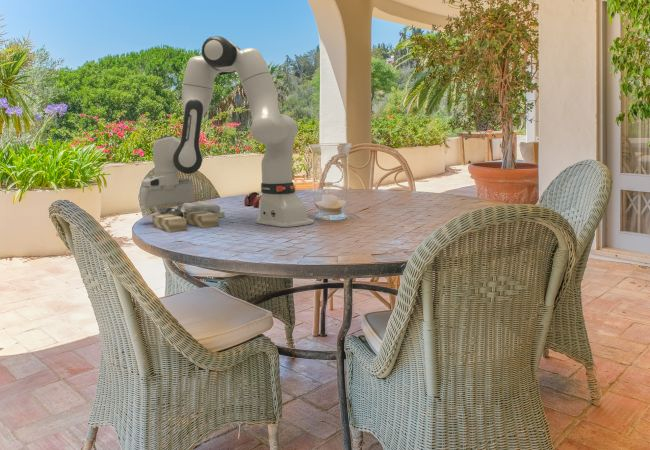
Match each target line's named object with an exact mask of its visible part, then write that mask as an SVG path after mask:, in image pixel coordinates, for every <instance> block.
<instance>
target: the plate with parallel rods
mask: <svg viewBox="0 0 650 450" xmlns="http://www.w3.org/2000/svg"><path fill="white" fill-rule="evenodd" d="M182 209H183V210H182ZM182 209H181V210H180V211H182V213H183V216H184V212H186V211H195V210H201V211H205V212H209V213H213V214H217V215H218V219H221V218H225V211H221V207H220V206H219V204H213V203H210V202H205V201H201V200H198V201H197V202H195V204H194V203H192V202H189V203H182Z"/></svg>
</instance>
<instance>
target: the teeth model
mask: <svg viewBox="0 0 650 450" xmlns="http://www.w3.org/2000/svg"><path fill="white" fill-rule="evenodd" d="M261 197H262V193H258V192H255V191H252V192H249V194H247V195H246V196H245V198H244V203H243V204H244V207H249V206H252V207H253V208H254V209H257V208H258V209H259V200H260V198H261Z"/></svg>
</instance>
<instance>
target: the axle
mask: <svg viewBox="0 0 650 450" xmlns="http://www.w3.org/2000/svg"><path fill="white" fill-rule="evenodd" d="M159 210H160V211H161V212H163V213H164V214H168V213H169V214H172V215H176V216H179V217H182V218H184V217H183V213H182V211H180V210H178V209H177V208H173V207H170V206H167V205H162V206H160V208H159Z"/></svg>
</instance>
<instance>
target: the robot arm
mask: <svg viewBox="0 0 650 450" xmlns="http://www.w3.org/2000/svg"><path fill="white" fill-rule="evenodd" d="M234 73H237V75H238V78H239V80H240V82H241V85H242V87H243V91H244V93H245V96H246V99H247V101H248V105H249V109H250V110H249V111H250V115H251V117H250V118H251V125H250V133H251V136H252V138H253V139H254V140H255V141H256V142H258V143H260V144H263V145H265V150H264V155H263V157H262V159H261V164H260V165H261V184H260V193H261V194H262V197H261V198H260V200H259V207H258V214H257V215H258V219H255V224H259V225H268V226H272V227H280V228H288V227H289V228H290V227H300V226H307V225H312V224H314V223H315V220H314V219H313V218H309V217H308V210H307V205H306V203H304V202H303V200H301V198H300V197H299V196H298V195H297V194H296V189H297V188H296V185H294V182H293V173H292V171H293V170H292V169H293V163H292V162H293V153H294V147H295V140H296V137H297V135H298V131H299V129H298V128H299V126H298V123H297V122H296V121H295V119H293V117H291V116H289V115H287V114H283V113H281V112H280V107H279V101H278V97H279V92H278V91H277V90H278V89H277V86H276V84H275V82H274V80H273V76H272V74H271V72H270V69H269V67H268V64H267V62H266V60H265V58H264V57H263V55H262V54H261V52H260V51H259V50H258V49H257V48H254V47H245V48H243V49H241V48H239V46H237V45H236V44H235V43H233V42H232V41H231V40H229V39H227V38H225V37H222V36H218V35H213V36H210V37H208V38H207V39H206V40H205V41H204V42H203V44H202V47H201V55H195V56H192V57H190V58H189V59H188V61H187V64H186V66H185V71H184V75H183V80H182V88H181V99H182V101H181V103H182V111H183V122H182V123H183V124H182V130H181V137H180V139H179V138H177V137H175V136H174V135H166V136H165V135H164V136H161V137H157V138H156V139H154V141H153V144H152V160H153V164H154V168H153V169H154V170H153V172H154V173H153V175H151V176H149V177H147V178H145V179H142V180H141V185H142V187H141V188H140V194H139V197H140V200H139V201H140V205H141V206H142V207H145V208H149V207H150V208H151V207H154V210H155V211H156V212H157V215H159V214H164V213H163V212H161V211H160V210H159V209H160V208H161V206H168V205H176V207H177V208H176V209H178V210H182V209H183V204H184V203H194V201H195V200H196V198H195V192H194V181H193V180H192V179H190V178H189V177H187V178H180V176H179V175H180V174H179V172H180V173H182V174H187V175H190V174H193V173H196V172H197V171H198V170H199V169H200V168H201V167H202V164H203V161H204V155H203V151H202V150H201V149H200V137H201V130H202V123H203V120H204V117H205V115H206V113H207V112H208V110H209V109H210V106H211V101H212V98H213V93H214V84H215V80H216V77H217V75H219V76H223V75H230V74H234Z"/></svg>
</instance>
